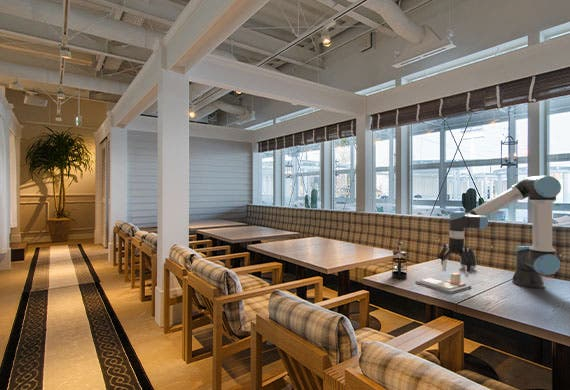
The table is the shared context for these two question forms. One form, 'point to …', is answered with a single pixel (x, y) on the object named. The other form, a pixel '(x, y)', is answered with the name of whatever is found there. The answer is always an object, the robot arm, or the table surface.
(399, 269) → the french press
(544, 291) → the table surface
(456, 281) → the stub
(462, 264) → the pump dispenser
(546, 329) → the table surface
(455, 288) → the board
